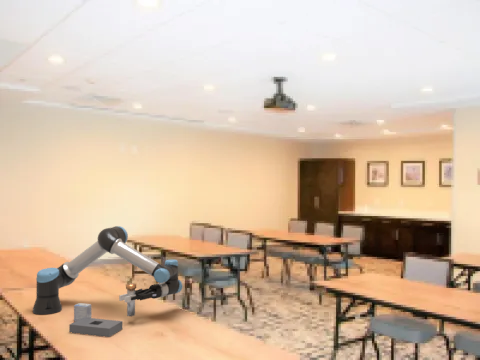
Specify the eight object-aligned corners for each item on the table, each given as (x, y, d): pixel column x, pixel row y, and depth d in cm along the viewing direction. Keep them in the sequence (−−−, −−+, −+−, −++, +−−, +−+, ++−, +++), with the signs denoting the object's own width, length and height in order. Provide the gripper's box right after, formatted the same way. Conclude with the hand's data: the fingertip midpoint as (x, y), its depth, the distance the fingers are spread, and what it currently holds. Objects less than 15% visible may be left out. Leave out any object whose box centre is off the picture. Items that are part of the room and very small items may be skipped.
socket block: (69, 332, 215) (69, 324, 215) (84, 325, 227) (84, 317, 227) (109, 337, 209) (109, 328, 209) (122, 329, 221) (122, 321, 221)
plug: (124, 316, 229) (124, 285, 229) (129, 313, 234) (129, 283, 234) (133, 316, 228) (133, 285, 228) (137, 314, 233) (138, 283, 233)
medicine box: (91, 320, 235) (91, 304, 235) (86, 322, 230) (86, 306, 231) (78, 319, 237) (79, 302, 237) (73, 321, 233) (73, 305, 233)
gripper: (168, 300, 239) (132, 309, 221) (148, 294, 250) (112, 303, 232) (168, 286, 239) (132, 294, 221) (148, 281, 250) (112, 289, 232)
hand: (122, 298), depth 227 cm, fingers closed on plug, 4 cm apart
